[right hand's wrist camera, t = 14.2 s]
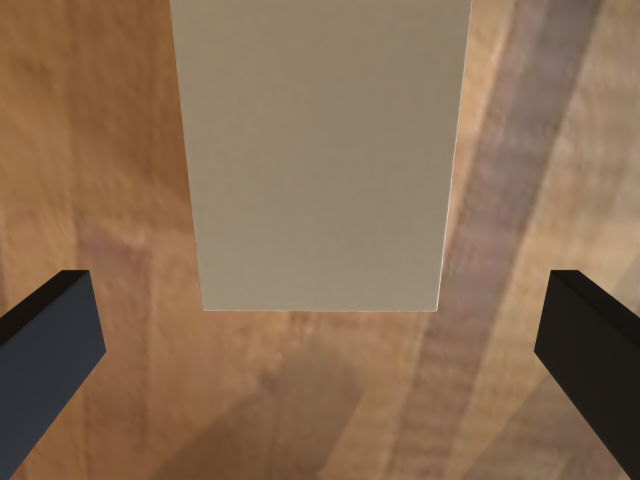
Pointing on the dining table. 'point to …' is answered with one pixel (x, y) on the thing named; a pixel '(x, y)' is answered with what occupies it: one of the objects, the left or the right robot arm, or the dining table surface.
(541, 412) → the dining table surface
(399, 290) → the cabinet
